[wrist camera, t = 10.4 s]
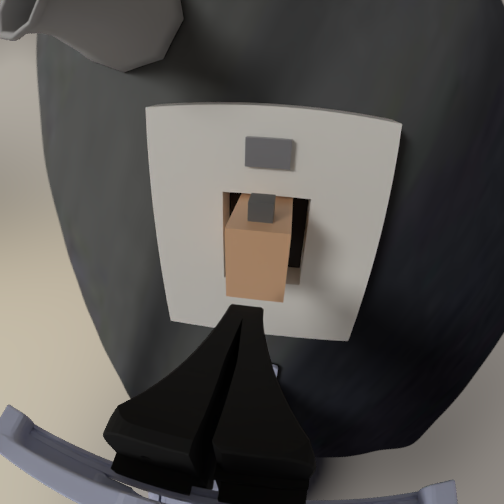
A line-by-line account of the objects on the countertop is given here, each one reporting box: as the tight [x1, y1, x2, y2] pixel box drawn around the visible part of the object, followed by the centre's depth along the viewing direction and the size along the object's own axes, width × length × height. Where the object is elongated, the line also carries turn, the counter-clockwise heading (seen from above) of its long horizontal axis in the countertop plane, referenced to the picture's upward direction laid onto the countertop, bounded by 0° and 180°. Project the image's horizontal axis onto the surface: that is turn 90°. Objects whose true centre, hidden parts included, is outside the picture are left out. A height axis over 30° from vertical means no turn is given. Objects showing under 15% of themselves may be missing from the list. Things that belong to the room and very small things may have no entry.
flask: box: [0, 0, 184, 72], centre depth 10 cm, size 7×7×10 cm
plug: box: [225, 193, 293, 303], centre depth 17 cm, size 5×3×6 cm, turn 178°
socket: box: [146, 102, 402, 341], centre depth 19 cm, size 16×14×2 cm
